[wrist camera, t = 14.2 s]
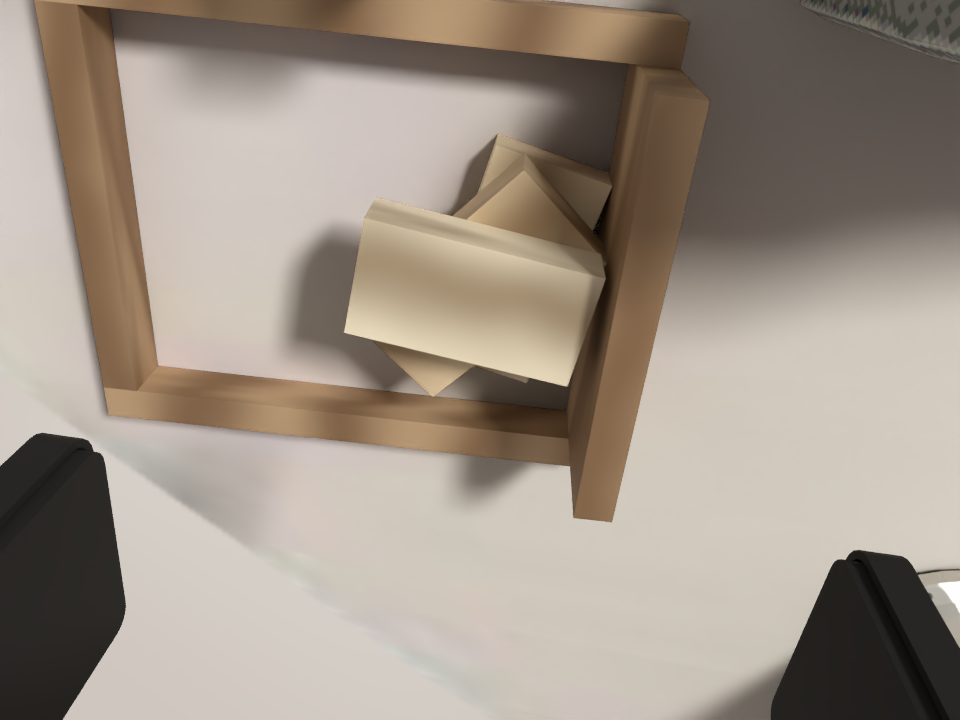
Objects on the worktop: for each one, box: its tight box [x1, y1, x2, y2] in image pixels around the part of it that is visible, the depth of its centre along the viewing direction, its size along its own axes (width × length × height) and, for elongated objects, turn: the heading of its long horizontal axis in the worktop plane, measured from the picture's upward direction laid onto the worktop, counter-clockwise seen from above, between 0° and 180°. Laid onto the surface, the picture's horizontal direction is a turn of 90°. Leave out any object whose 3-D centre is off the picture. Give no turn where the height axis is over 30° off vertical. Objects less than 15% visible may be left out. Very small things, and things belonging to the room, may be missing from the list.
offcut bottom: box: [474, 134, 612, 383], centre depth 35 cm, size 5×10×2 cm, turn 161°
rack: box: [34, 0, 710, 522], centre depth 31 cm, size 24×20×8 cm
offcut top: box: [344, 197, 606, 387], centre depth 30 cm, size 5×9×2 cm, turn 76°
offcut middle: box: [371, 153, 607, 397], centre depth 33 cm, size 5×10×2 cm, turn 132°
